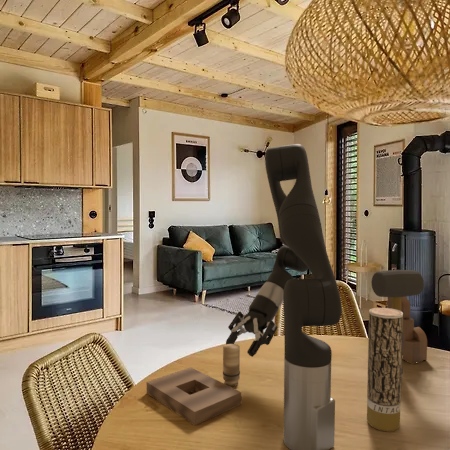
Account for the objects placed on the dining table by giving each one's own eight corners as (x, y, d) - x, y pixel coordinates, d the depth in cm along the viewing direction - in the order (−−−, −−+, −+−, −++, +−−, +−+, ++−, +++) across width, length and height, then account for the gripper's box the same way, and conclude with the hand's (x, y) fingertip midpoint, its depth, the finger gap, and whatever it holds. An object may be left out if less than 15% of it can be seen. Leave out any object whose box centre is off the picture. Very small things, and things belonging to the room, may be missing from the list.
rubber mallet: (406, 369, 120) (409, 267, 118) (423, 380, 113) (426, 271, 111) (367, 373, 117) (369, 268, 116) (382, 384, 110) (385, 272, 108)
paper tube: (361, 417, 93) (364, 307, 92) (390, 416, 94) (393, 307, 92) (374, 433, 87) (377, 316, 85) (406, 432, 87) (409, 315, 86)
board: (241, 404, 99) (241, 392, 99) (194, 425, 90) (194, 411, 90) (190, 377, 114) (190, 367, 114) (146, 393, 105) (146, 381, 104)
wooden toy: (428, 361, 127) (430, 280, 125) (412, 364, 124) (414, 281, 122) (389, 345, 141) (390, 272, 139) (374, 347, 138) (375, 273, 136)
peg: (243, 383, 110) (243, 347, 110) (230, 389, 107) (230, 351, 107) (231, 378, 114) (231, 342, 113) (219, 383, 111) (219, 346, 110)
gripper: (243, 289, 122) (214, 336, 115) (280, 298, 111) (250, 350, 105) (256, 304, 126) (228, 350, 119) (293, 314, 115) (264, 365, 108)
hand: (238, 350), depth 112 cm, fingers open, 8 cm apart
